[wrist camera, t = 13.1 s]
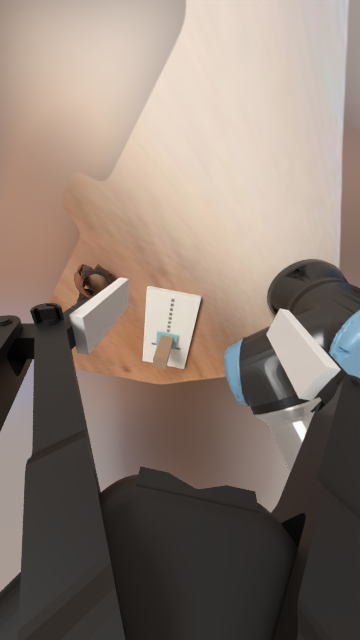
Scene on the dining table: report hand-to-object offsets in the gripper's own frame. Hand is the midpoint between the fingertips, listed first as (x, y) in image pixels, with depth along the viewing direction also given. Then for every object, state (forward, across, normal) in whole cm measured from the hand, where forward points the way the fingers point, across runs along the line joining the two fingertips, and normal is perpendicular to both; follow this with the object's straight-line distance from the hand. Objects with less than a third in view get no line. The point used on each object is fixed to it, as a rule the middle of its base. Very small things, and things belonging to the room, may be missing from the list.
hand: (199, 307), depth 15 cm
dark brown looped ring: (+29, +26, +12) cm, 41 cm away
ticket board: (+29, +5, +24) cm, 38 cm away
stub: (+27, +5, +26) cm, 38 cm away
